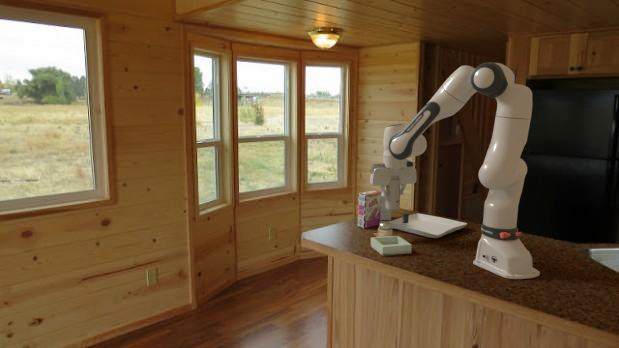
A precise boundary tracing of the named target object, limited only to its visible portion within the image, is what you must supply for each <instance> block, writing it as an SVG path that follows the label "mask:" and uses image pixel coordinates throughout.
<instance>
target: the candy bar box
mask: <svg viewBox="0 0 619 348" xmlns="http://www.w3.org/2000/svg"><path fill="white" fill-rule="evenodd" d="M381 193H382V192H381V191H378V190H370V191H364V192H358V196H357V197H358V199H357V222H356V223H357V224H356V227H358V228H360V229H363V230H365V229H369V228H374V227H377V226H378V227H379V223H380V222H381V220H380V211H381Z"/></svg>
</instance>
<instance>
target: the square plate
mask: <svg viewBox="0 0 619 348" xmlns="http://www.w3.org/2000/svg"><path fill="white" fill-rule="evenodd" d="M388 222H389V223H390V222H403V216H402V217H398V218H396V219H393V220H392V219H391V220H389V221H388ZM467 225H468V223H467V222H464V221H463V222H462V221H459V220H454V219H450V218H446V217H445V218H444V217H441V216H436V215H435V216H434V215H430V214H424V213H418V212H417V213H413V214H409V220H408V223H406V228H393V229H394V230H399V231H402V232H405V233H409V234H413V235H416V236H422V237H426V238H429V239H430V238H432V239H439V238H442V237H444V236H446V235H449V234H451V233H453V232H456V231H458V230H462V229H463V228H464V227H466V226H467Z"/></svg>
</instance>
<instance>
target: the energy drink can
mask: <svg viewBox="0 0 619 348" xmlns="http://www.w3.org/2000/svg"><path fill="white" fill-rule="evenodd" d="M400 182H401V180H400V178H399V176H396V177H391V179H390V184H389V185H385V191H387V195H386V209H387V210H388V211H391V212H398V211H399V210H400V208H401V195H400V189H401V184H400Z"/></svg>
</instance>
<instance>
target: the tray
mask: <svg viewBox="0 0 619 348" xmlns="http://www.w3.org/2000/svg"><path fill="white" fill-rule="evenodd" d="M370 246H371V248H372V249H374V250H375V251H376V252H377V253H379V255H380V256H382V257H386V256H387V257H388V256H396V255H407V254H412V244H411V243H410V242H408V241H407V240H406V239H404V238H402V237H401V236H400V235H392V236H385V237H376V236H374V237H370Z"/></svg>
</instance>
